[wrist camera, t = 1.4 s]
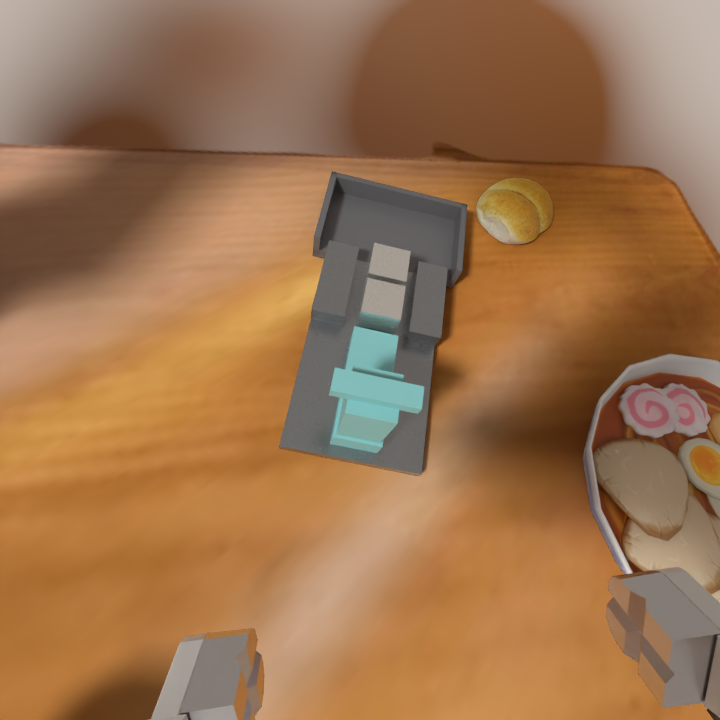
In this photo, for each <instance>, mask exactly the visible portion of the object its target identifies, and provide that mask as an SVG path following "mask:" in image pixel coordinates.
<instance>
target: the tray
mask: <svg viewBox="0 0 720 720" xmlns="http://www.w3.org/2000/svg"><path fill="white" fill-rule="evenodd" d="M466 216H467V205H466V204H462V203H458V202H454V201H450V200H446V199H442V198H438V197H434V196H430V195H426V194H422V193H418V192H414V191H409V190H405V189H401V188H397V187H393V186H389V185H385V184H381V183H377V182H373V181H369V180H365V179H361V178H357V177H353V176H349V175H344V174H340V173H336V172H332V173H331V177H330V181H329V184H328V188H327V192H326V195H325V199H324V202H323V206H322V210H321V213H320V217H319V221H318V224H317V228H316V232H315V235H314V246H313V256H315V257H320V258H324V259H325V255H326V251H327V247H328V243H329V240H331V241H335V242H340V243H344V244H348V245H352V246H357V247H359V251H358V256H357V260H360V261H364V262H368V263H369V260H370V257H371V253H372V249H373V246H374V243H378V244H382V245H386V246H391V247H395V248H399V249H403V250H408V251H411V253H410V260H409V267H408V272H411V273H413V272H414V270H415V268H416V266H417V264H418V261H420V262H425V263H429V264H433V265H437V266H442V267H446V268H448V271H447V282H446V287H449V288H452V287H453V285H454V284H455V282H456V281H457V279H458V277H459V276H460V274H461V273H462V269H463V256H464V242H465V229H466Z"/></svg>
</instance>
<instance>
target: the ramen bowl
mask: <svg viewBox="0 0 720 720" xmlns="http://www.w3.org/2000/svg"><path fill="white" fill-rule="evenodd" d="M583 465H584V471H585V478H586V484H587V491H588V497H589V504H590V510H591V512H592V514H593V516H594V518H595V520H596V522H597V524H598V526H599V529H600V531H601V533H602V535H603V537H604V539H605V541H606V543H607V545H608V547H609V549H610V551H611V553H612V555H613V557H614V560H615V562H616V563H617V564H618V566H619V567H620V569H621V570H622V571H623V572H624V573H625V574H630V573H637V572H643V571H649V570H658V569H665V568H672V567H680V568H682V569H684V570H685V571H686V572H688V573H689V574H690V575H691V576H692V577H693V578H694V579H695V580H696V581H697V582H698V583H699V584H700V585H701V586H702V587H704V588H705V589H706V590H707V591H708V592H709V593H710V594H711V595H712V596H713V597H714V598H715V599H716V600H717V601H719V602H720V362H719V361H717V360H713V359H706V358H699V357H691V356H684V355H677V354H670V353H669V354H666V355H662V356H659V357H656V358H652V359H649V360H645V361H642V362H638V363H635V364H631V365H629V366H628V367H627V368H626V369H625V370H624V371H623V372H622V374H621V375H620V376H619V377H618V378H617V379H616V380H615V381H614V382H613V383H612V385H611V386H610V387H609V388H608V389H607V390H606V391H605V392H604V393H603V395H602V396H601V397H600V399H599V401H598V403H597V405H596V407H595V410H594V414H593V418H592V422H591V426H590V430H589V434H588V438H587V442H586V445H585V449H584V453H583ZM707 711H708V712H709V714H710V715H711V717H712V718H713V719H714V720H720V717H718V716H717V715H716V714H714V713H713V712H712V711H710V710H709V709H707Z"/></svg>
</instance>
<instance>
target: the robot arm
mask: <svg viewBox="0 0 720 720" xmlns="http://www.w3.org/2000/svg"><path fill="white" fill-rule="evenodd" d="M608 590H609V592H610V593H611V594H612V595H613V598H612V599H611V600H610V602H609V603H608V604H607V611H606V618H607V621H608V625H609V628H610V631H611V633H612V635H613V637H614V639H615V641H616V643H617V644H618V646H619V647H620V649H621V650H622V652H623V653H624V654H626V655H627V656H629V657H630V658H632V659H633V660H635V661H636V662H638V675H639V676H640V677H641V679H642V680H643V682H644V683H645V684H646V686H647V687H648V689H649V690H650V691H651V693H652V694H653V696H654V697H655V699H656V700H657V701H658V703H659V704H660V706H661V707H662V708H665V707H673V706H682V705H690V704H699V703H704V706H705V707H707V708H708V709H709V710H710V711H712V712H713V713H714V714H716V715H717V716H718V717H720V602H719V601H717V600H716V599H715V598H714V597H713V596H712V595H711V594H710V593H709V592H708V591H707V590H706V589H705V588H704V587H702V586H701V585H700V584H699V583H698V582H697V581H696V580H695V579H694V578H693V577H692V576H691V575H690V574H689V573H688V572H686V571H685V570H684V569H682V568H680V567H672V568H665V569H658V570H649V571H643V572H637V573H630V574H624V575H618V576H612V578H611V579H610V580H609V585H608ZM257 640H258V639H257V636H256V632H255V629H253V628H250V629H241V630H232V631H223V632H214V633H208V634H199V635H191V636H185V637H184V638H183V640H182V641H181V642H180V644H179V646H178V649H177V651H176V654H175V656H174V659H173V662H172V664H171V667H170V670H169V672H168V675H167V678H166V680H165V683H164V685H163V688H162V691H161V693H160V696H159V699H158V701H157V704H156V707H155V709H154V712H153V714H152V717H151V719H148V720H255V715H256V714H257V712H258V711H259V710H260V708H261V707H262V700H263V693H264V667H263V660H262V656H261V654H259V653H258V652H257V651H256V646H257Z"/></svg>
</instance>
